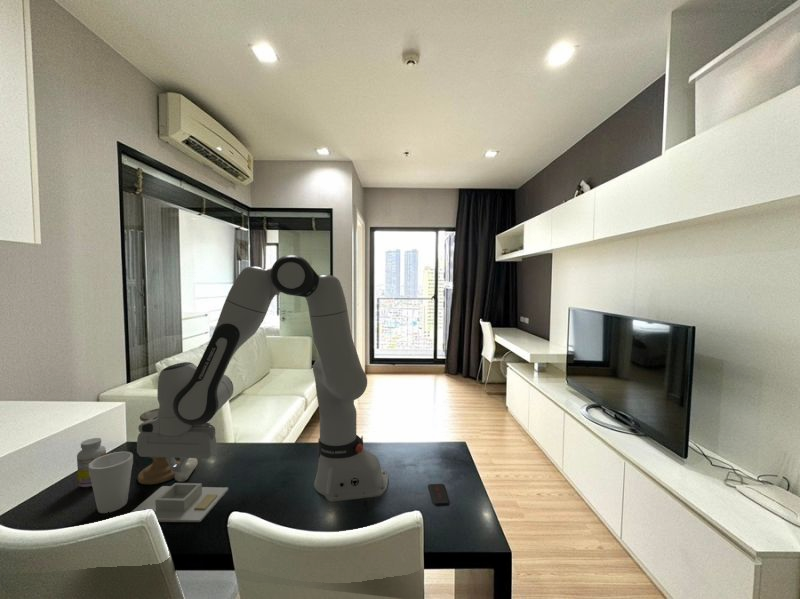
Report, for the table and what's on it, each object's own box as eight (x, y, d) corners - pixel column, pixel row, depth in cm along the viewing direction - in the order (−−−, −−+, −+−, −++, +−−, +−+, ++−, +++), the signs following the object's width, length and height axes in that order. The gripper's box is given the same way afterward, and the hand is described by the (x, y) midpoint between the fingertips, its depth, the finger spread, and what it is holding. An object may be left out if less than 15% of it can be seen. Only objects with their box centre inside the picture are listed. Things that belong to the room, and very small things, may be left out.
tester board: (228, 490, 102) (228, 477, 102) (200, 523, 88) (199, 508, 88) (162, 489, 103) (162, 476, 102) (123, 521, 89) (123, 506, 88)
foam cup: (108, 519, 90) (107, 471, 89) (80, 514, 91) (78, 466, 91) (142, 497, 99) (141, 453, 98) (116, 493, 101) (115, 449, 100)
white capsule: (185, 483, 107) (195, 468, 115) (190, 471, 107) (200, 457, 116) (172, 480, 106) (183, 465, 114) (177, 467, 106) (187, 454, 115)
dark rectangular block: (444, 490, 104) (444, 481, 104) (452, 517, 92) (453, 507, 92) (427, 490, 104) (427, 482, 104) (433, 518, 92) (433, 508, 92)
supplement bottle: (102, 473, 111) (100, 434, 110) (110, 479, 107) (109, 439, 107) (74, 483, 105) (72, 442, 104) (82, 490, 102) (81, 448, 101)
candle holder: (192, 469, 114) (191, 409, 113) (152, 489, 103) (151, 423, 102) (169, 460, 119) (168, 403, 118) (129, 479, 108) (127, 416, 107)
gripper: (221, 418, 97) (221, 466, 98) (149, 416, 98) (150, 464, 98) (208, 428, 91) (208, 479, 91) (132, 425, 91) (132, 476, 92)
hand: (177, 471), depth 95 cm, fingers closed
